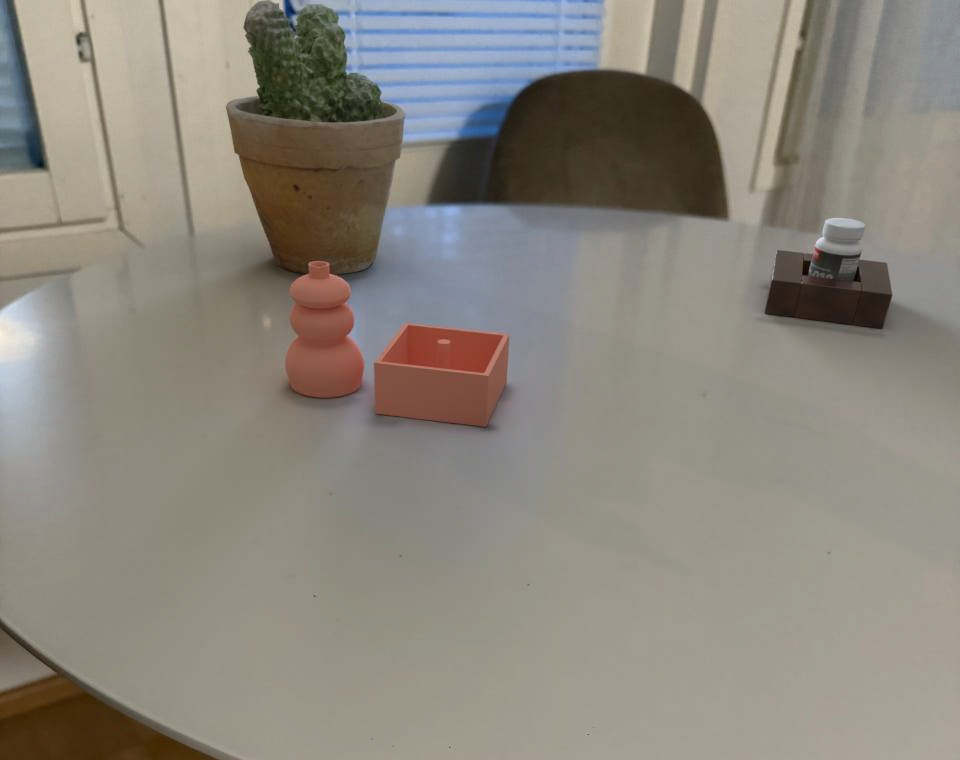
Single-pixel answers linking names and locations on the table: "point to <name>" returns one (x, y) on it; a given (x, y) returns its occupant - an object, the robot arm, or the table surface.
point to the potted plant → (314, 142)
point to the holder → (828, 292)
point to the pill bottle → (838, 250)
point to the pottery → (393, 358)
